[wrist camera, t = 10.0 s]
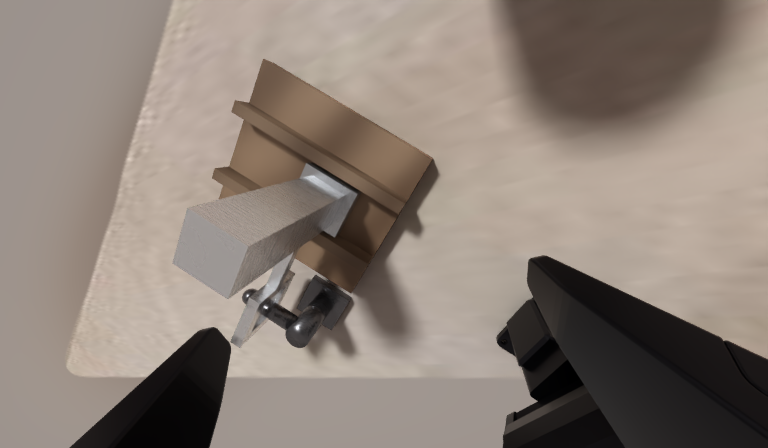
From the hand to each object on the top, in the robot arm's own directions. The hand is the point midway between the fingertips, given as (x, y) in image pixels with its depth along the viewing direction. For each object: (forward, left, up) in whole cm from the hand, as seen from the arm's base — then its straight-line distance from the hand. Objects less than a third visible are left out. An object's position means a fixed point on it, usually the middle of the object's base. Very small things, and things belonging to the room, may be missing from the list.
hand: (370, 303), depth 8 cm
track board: (+7, +3, -13) cm, 15 cm away
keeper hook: (+4, +12, -13) cm, 18 cm away
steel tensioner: (+6, +8, -12) cm, 15 cm away
